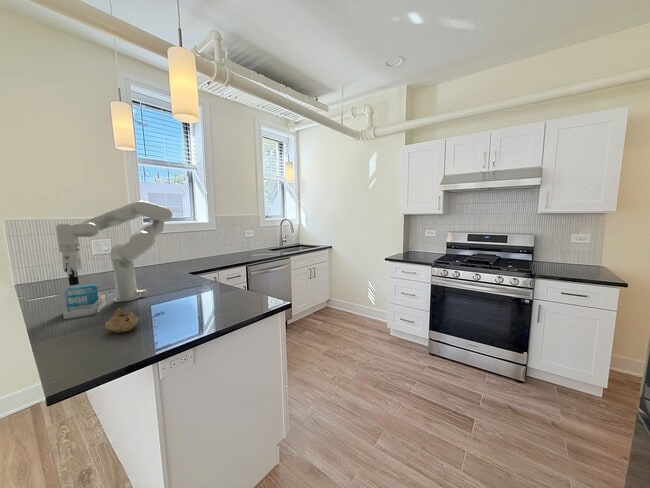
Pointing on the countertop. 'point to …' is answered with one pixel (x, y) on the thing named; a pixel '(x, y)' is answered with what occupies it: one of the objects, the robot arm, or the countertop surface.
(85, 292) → the data package
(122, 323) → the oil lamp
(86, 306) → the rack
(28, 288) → the countertop surface
